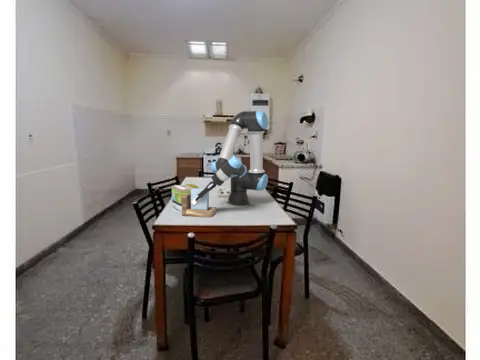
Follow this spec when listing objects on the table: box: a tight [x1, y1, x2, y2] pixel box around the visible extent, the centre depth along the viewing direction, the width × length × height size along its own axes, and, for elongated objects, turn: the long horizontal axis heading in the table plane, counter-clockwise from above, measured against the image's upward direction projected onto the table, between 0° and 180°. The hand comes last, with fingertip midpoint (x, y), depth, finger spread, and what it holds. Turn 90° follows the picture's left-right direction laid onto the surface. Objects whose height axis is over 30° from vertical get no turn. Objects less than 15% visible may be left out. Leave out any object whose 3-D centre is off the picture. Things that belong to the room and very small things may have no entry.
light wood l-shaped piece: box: [181, 193, 217, 219], centre depth 206 cm, size 12×18×12 cm, turn 79°
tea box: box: [171, 184, 193, 212], centre depth 220 cm, size 15×10×15 cm, turn 34°
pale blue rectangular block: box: [191, 188, 210, 210], centre depth 205 cm, size 4×10×12 cm, turn 79°
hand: (194, 202), depth 206 cm, fingers closed on pale blue rectangular block, 4 cm apart
